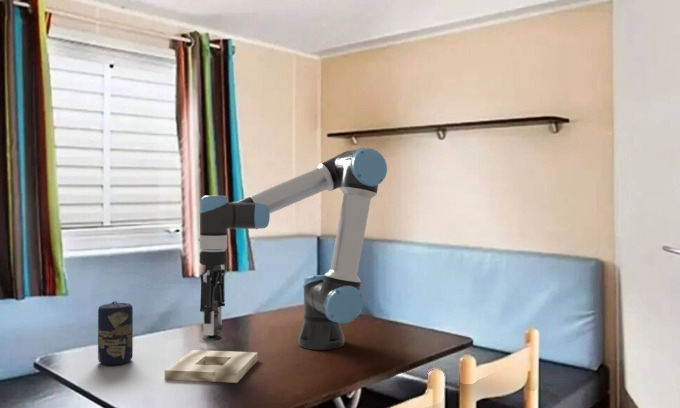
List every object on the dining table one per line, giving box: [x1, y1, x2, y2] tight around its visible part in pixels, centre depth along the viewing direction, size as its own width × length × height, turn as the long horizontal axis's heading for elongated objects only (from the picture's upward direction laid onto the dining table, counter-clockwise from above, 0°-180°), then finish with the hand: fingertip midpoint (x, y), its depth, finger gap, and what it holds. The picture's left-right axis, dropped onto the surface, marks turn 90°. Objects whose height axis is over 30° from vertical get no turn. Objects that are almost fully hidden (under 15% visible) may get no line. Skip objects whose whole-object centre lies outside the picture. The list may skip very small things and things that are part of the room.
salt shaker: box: [201, 299, 224, 342], centre depth 161 cm, size 6×6×12 cm
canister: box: [97, 300, 134, 366], centre depth 168 cm, size 10×10×18 cm
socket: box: [164, 349, 258, 384], centre depth 161 cm, size 20×20×2 cm
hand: (212, 332), depth 161 cm, fingers closed on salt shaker, 6 cm apart
